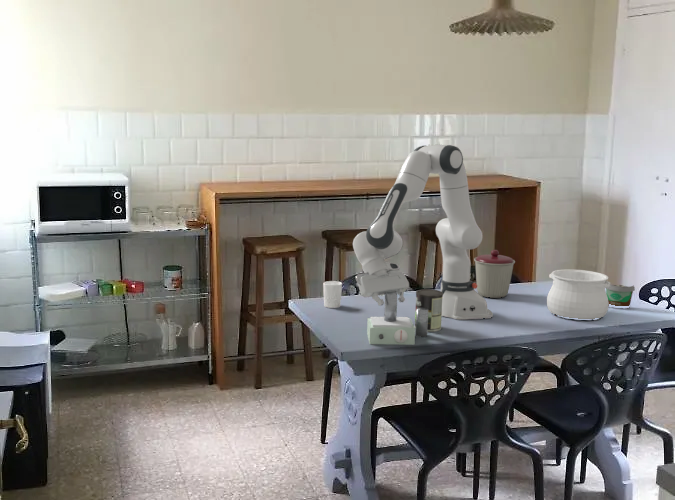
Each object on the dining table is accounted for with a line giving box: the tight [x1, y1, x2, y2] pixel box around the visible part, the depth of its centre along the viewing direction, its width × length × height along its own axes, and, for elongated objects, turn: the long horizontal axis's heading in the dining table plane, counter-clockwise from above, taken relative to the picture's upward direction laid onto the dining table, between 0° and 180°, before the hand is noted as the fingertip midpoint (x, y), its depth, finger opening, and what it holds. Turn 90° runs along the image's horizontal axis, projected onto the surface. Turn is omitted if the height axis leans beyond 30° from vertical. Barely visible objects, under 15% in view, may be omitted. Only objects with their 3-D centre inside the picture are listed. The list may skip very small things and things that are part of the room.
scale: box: [366, 316, 416, 346], centre depth 282 cm, size 16×14×7 cm
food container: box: [605, 284, 636, 306], centre depth 334 cm, size 12×6×10 cm, turn 68°
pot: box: [546, 269, 611, 319], centre depth 321 cm, size 26×24×17 cm
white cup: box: [322, 280, 343, 309], centre depth 327 cm, size 8×8×10 cm
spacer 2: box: [415, 308, 428, 338], centre depth 288 cm, size 4×4×10 cm
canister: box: [473, 249, 516, 299], centre depth 350 cm, size 18×18×21 cm
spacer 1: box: [383, 292, 398, 322], centre depth 282 cm, size 4×4×10 cm
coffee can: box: [414, 288, 443, 333], centre depth 298 cm, size 10×10×14 cm
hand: (392, 303), depth 282 cm, fingers open, 8 cm apart
